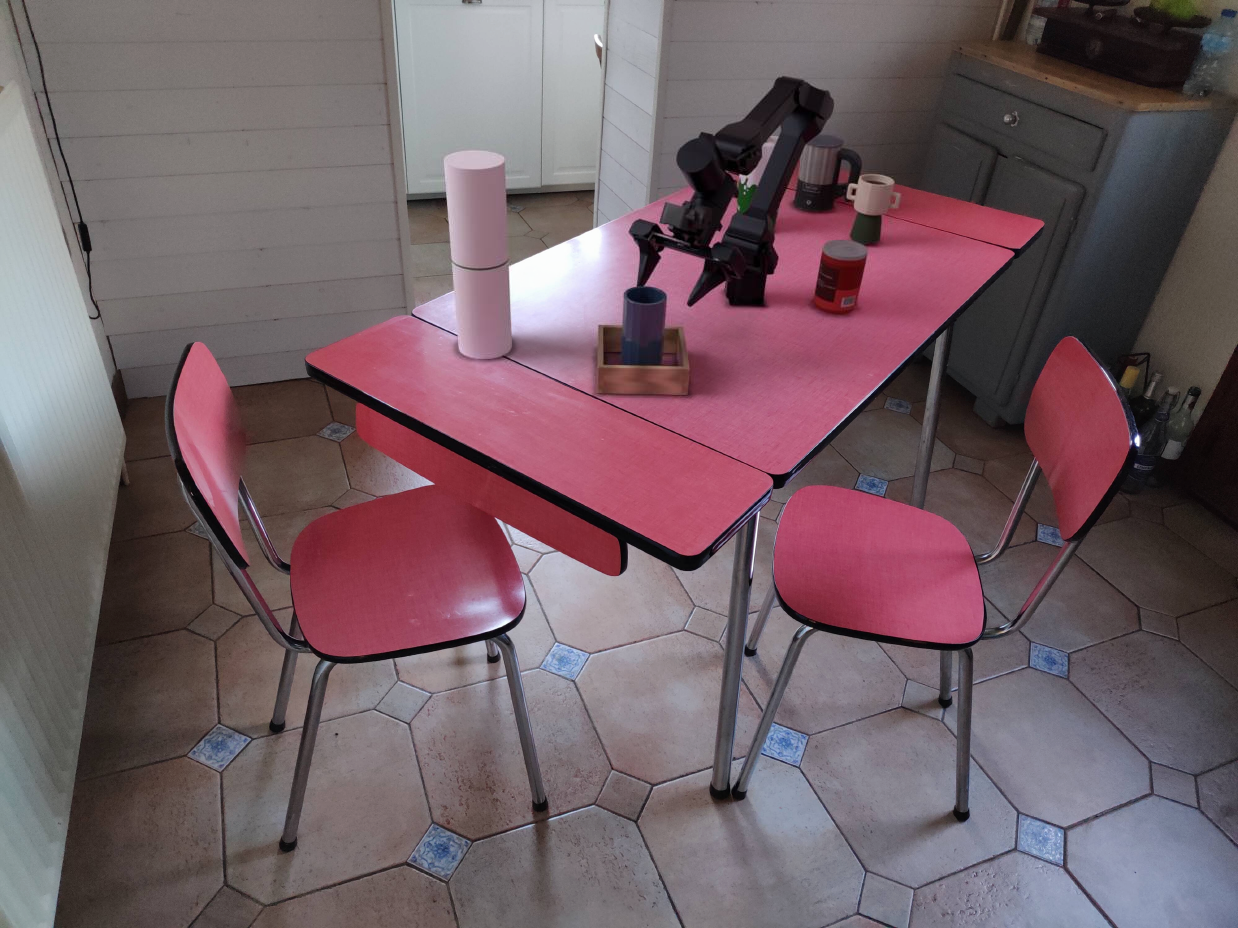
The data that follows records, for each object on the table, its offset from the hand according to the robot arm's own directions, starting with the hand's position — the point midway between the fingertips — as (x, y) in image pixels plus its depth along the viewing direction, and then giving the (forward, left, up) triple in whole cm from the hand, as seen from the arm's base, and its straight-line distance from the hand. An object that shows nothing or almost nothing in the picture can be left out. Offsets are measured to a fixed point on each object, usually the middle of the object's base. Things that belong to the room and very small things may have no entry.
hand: (663, 297), depth 136 cm
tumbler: (+3, +4, -11) cm, 12 cm away
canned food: (-33, -21, -11) cm, 41 cm away
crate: (+3, +4, -11) cm, 12 cm away
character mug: (-46, -52, -11) cm, 70 cm away
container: (+28, -3, -11) cm, 30 cm away
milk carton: (-24, -59, -11) cm, 64 cm away
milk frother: (-42, -75, -11) cm, 87 cm away
